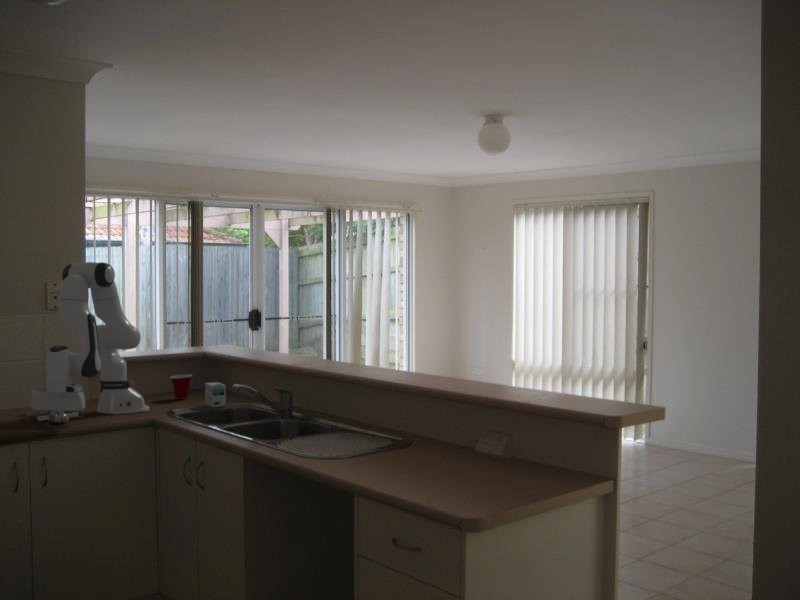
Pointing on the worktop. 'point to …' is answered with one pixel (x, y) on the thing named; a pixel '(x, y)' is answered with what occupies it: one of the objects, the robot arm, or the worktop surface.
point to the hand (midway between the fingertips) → (58, 421)
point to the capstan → (52, 419)
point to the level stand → (44, 413)
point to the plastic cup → (181, 385)
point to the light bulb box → (215, 394)
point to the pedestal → (58, 425)
